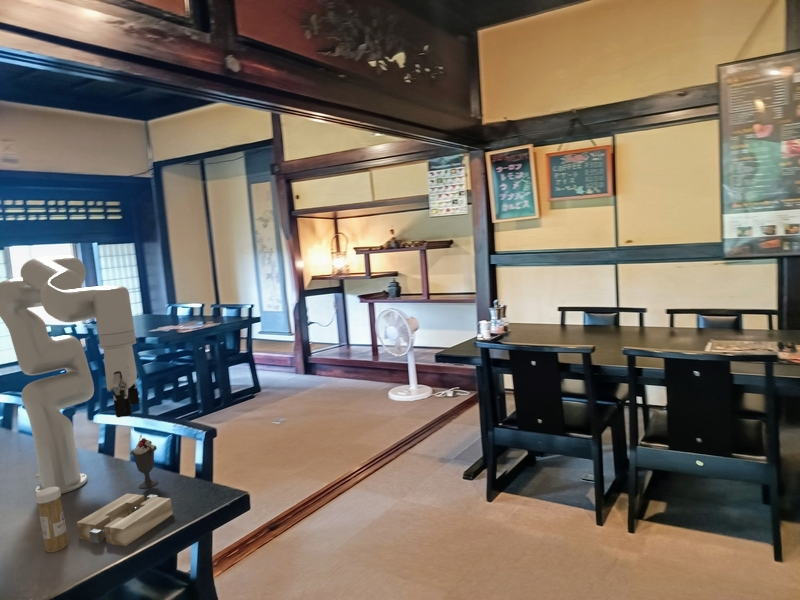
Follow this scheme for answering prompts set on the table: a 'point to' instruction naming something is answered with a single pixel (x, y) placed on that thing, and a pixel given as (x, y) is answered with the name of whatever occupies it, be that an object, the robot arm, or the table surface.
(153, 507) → the slotted wooden block
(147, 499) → the plunger
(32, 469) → the table surface
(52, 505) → the sprinkles bottle
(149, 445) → the sundae
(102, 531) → the plunger
